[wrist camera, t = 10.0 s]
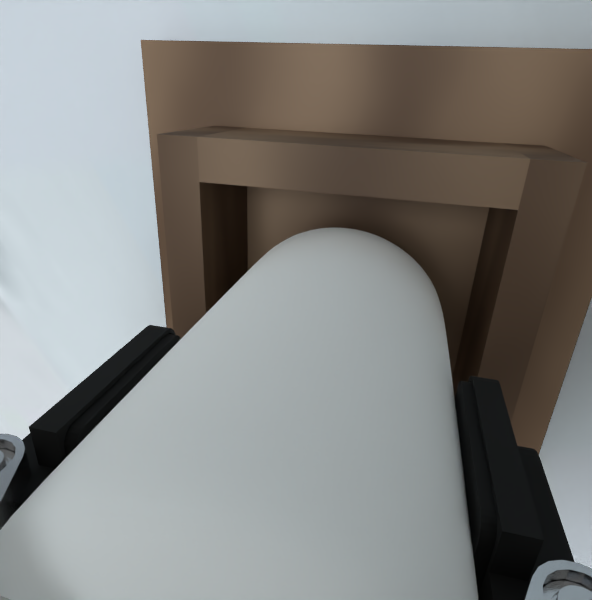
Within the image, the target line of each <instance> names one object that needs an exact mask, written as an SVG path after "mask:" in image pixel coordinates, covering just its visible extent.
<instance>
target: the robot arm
mask: <svg viewBox="0 0 592 600" xmlns="http://www.w3.org/2000/svg"><path fill="white" fill-rule="evenodd" d="M180 340H181V338H180V336H178V335H175V332H174V330H173V329H172V328H166V327H159V326H153V325H149V326H148V327H146V328H145V329H144V330H143V331H141V332H140V333H139V334H138V335H137V336H135V337H134V338H133V339H132V340H131V341H130V342H128V343H127V344H126V345H125V346H124V347H123V348H121V349H120V350H119V351H118V352H117V353H115V354H114V355H113V356H112V357H111V358H110V359H108V360H107V361H106V362H105V363H104V364H102V365H101V366H100V367H99V368H98V369H97V370H95V371H94V372H93V373H92V374H91V375H90V376H88V377H87V378H86V379H85V380H84V381H82V382H81V383H80V384H79V385H78V386H77V387H75V388H74V389H73V390H72V391H71V392H69V393H68V394H67V395H66V396H65V397H64V398H62V399H61V400H60V401H59V402H58V403H57V404H55V405H54V406H53V407H52V408H51V409H49V410H48V411H47V412H46V413H45V414H44V415H42V416H41V417H40V418H39V419H38V420H36V421H35V422H34V423H33V424H32V425H31V426H29V429H30V434H29V435H28V436H26V437H25V438H24V439H23V440H21V439H20V438H18V437H17V436H14V435H10V434H0V530H1V529H2V527H3V526H4V525H5V524H6V522H7V521H8V520H9V519H10V517H11V516H12V515H13V514H14V513H15V512H16V511H17V510H18V509H19V507H20V506H21V505H22V504H23V503H24V502H25V501H26V500H27V499H28V498H29V497H30V495H31V494H32V493H33V492H34V491H35V490H36V489H37V488H38V487H39V486H40V485H41V483H42V482H43V481H44V480H45V479H46V478H47V477H48V476H49V475H50V474H51V473H52V472H53V471H54V470H55V469H56V468H57V467H58V466H59V465H60V464H61V462H62V461H63V460H64V459H65V458H66V457H67V456H68V455H69V454H70V453H71V452H72V451H73V450H74V449H75V448H76V447H77V446H78V445H79V444H80V443H81V442H82V441H83V440H84V438H85V437H86V436H87V435H88V434H89V433H90V432H91V431H92V430H93V429H94V428H95V427H96V426H97V425H98V424H99V423H100V422H101V421H102V420H103V419H104V418H105V417H106V416H107V415H108V414H109V413H110V412H111V410H112V409H113V408H114V407H115V406H116V405H117V404H118V403H119V402H120V401H121V400H122V399H123V398H124V397H125V396H126V395H127V394H128V393H129V392H130V391H131V390H132V389H133V388H134V387H135V386H136V385H137V384H138V383H139V382H140V381H141V380H142V379H143V377H144V376H145V375H146V374H147V373H148V372H149V371H150V370H151V369H152V368H153V367H154V366H155V365H156V364H157V363H158V362H159V361H160V360H161V359H162V358H163V357H164V356H165V355H166V354H167V353H168V352H169V351H170V350H171V349H172V348H173V347H174V346H175V345H176V344H177V343H178V342H179V341H180ZM455 407H456V415H457V423H458V431H459V439H460V448H461V456H462V464H463V473H464V481H465V489H466V498H467V506H468V515H469V523H470V532H471V540H472V549H473V557H474V565H475V574H476V582H477V591H478V600H592V568H589V567H587V566H584V565H582V564H580V563H576V562H574V559H573V556H572V553H571V550H570V547H569V544H568V541H567V538H566V535H565V532H564V529H563V526H562V523H561V520H560V517H559V514H558V511H557V508H556V505H555V502H554V499H553V496H552V493H551V490H550V487H549V484H548V481H547V478H546V475H545V472H544V469H543V466H542V463H541V460H540V457H539V455H538V453H537V451H536V450H534V449H533V448H527V447H522V446H517V443H516V439H515V436H514V432H513V428H512V425H511V421H510V418H509V414H508V411H507V407H506V404H505V400H504V397H503V393H502V389H501V386H500V383H499V381H498V380H494V379H488V378H482V377H476V376H470V378H469V380H468V382H465V381H460V382H459V384H458V388H457V393H456V397H455ZM0 600H10V599H8V598H5V597H2V596H0Z"/></svg>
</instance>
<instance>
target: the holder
mask: <svg viewBox="0 0 592 600" xmlns="http://www.w3.org/2000/svg"><path fill="white" fill-rule="evenodd" d="M141 48H142V59H143V71H144V82H145V93H146V104H147V115H148V126H149V137H150V148H151V159H152V170H153V181H154V192H155V203H156V214H157V225H158V237H159V248H160V259H161V270H162V281H163V292H164V303H165V314H166V325H167V328H172V329H173V330H174V332H175V335H178V336H180V338H182V337H183V336H184V335H185V334H186V333H187V332H188V331H189V330H190V329H191V328H192V327H193V326H194V325H195V324H196V323H197V322H198V321H199V320H200V319H201V318H202V317H203V316H204V315H205V314H206V313H207V312H208V311H209V310H210V309H211V308H212V307H213V306H214V305H215V304H216V303H217V302H218V301H219V300H220V299H221V298H222V297H223V296H224V295H225V294H226V293H227V292H228V291H229V290H230V289H231V288H232V286H233V285H234V284H235V283H236V282H237V281H238V280H239V279H240V278H241V277H242V276H243V275H244V274H245V273H246V272H247V271H248V270H249V269H250V268H251V267H252V266H253V265H254V264H255V263H256V262H258V261H259V260H260V259H261V258H262V257H263V256H264V255H265V254H266V253H267V252H268V251H270V250H271V249H272V248H273V247H275V246H276V245H278V244H279V243H281V242H282V241H284V240H286V239H288V238H290V237H292V236H294V235H297V234H299V233H302V232H306V231H309V230H314V229H320V228H334V227H335V228H350V229H356V230H361V231H364V232H368V233H371V234H374V235H377V236H379V237H381V238H384V239H386V240H388V241H390V242H391V243H393V244H395V245H396V246H398V247H399V248H401V249H402V250H404V251H405V252H406V253H407V254H409V255H410V256H411V257H412V258H413V259H414V260H415V261H416V262H417V263H418V264H419V265H420V266H421V267H422V269H423V270H424V271H425V272H426V274H427V275H428V277H429V278H430V280H431V282H432V283H433V285H434V287H435V290H436V292H437V295H438V298H439V301H440V304H441V308H442V312H443V317H444V323H445V329H446V336H447V343H448V351H449V359H450V367H451V374H452V382H453V390H454V399H455V397H456V393H457V388H458V384H459V382H460V381H465V382H468V380H469V378H470V376H476V377H482V378H488V379H494V380H498V381H499V383H500V386H501V389H502V393H503V397H504V400H505V404H506V407H507V411H508V414H509V418H510V421H511V425H512V428H513V432H514V436H515V439H516V443H517V446H522V447H527V448H533V449H534V450H536V451H537V453H538V455H539V452H540V449H541V446H542V443H543V440H544V437H545V434H546V431H547V428H548V425H549V422H550V419H551V416H552V413H553V410H554V407H555V404H556V401H557V399H558V396H559V393H560V390H561V387H562V384H563V381H564V378H565V375H566V372H567V369H568V366H569V363H570V360H571V357H572V354H573V351H574V348H575V345H576V342H577V339H578V336H579V333H580V330H581V327H582V324H583V321H584V318H585V315H586V312H587V309H588V306H589V304H590V301H591V298H592V49H559V48H509V47H460V46H410V45H361V44H311V43H261V42H212V41H162V40H141Z"/></svg>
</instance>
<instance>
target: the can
mask: <svg viewBox="0 0 592 600" xmlns="http://www.w3.org/2000/svg"><path fill="white" fill-rule="evenodd" d="M0 596H2V597H5V598H8V599H10V600H478V591H477V582H476V574H475V565H474V557H473V549H472V540H471V532H470V523H469V515H468V506H467V498H466V489H465V481H464V473H463V464H462V456H461V448H460V439H459V431H458V423H457V415H456V407H455V399H454V390H453V382H452V374H451V367H450V359H449V351H448V343H447V336H446V329H445V323H444V317H443V312H442V308H441V304H440V301H439V298H438V295H437V292H436V290H435V287H434V285H433V283H432V282H431V280H430V278H429V277H428V275H427V274H426V272H425V271H424V270H423V269H422V267H421V266H420V265H419V264H418V263H417V262H416V261H415V260H414V259H413V258H412V257H411V256H410V255H409V254H407V253H406V252H405V251H404V250H402V249H401V248H399V247H398V246H396V245H395V244H393V243H391V242H390V241H388V240H386V239H384V238H381V237H379V236H377V235H374V234H371V233H368V232H364V231H361V230H356V229H350V228H335V227H334V228H320V229H314V230H309V231H306V232H302V233H299V234H297V235H294V236H292V237H290V238H288V239H286V240H284V241H282V242H281V243H279V244H278V245H276V246H275V247H273V248H272V249H271V250H270V251H268V252H267V253H266V254H265V255H264V256H263V257H262V258H261V259H260V260H259V261H258V262H256V263H255V264H254V265H253V266H252V267H251V268H250V269H249V270H248V271H247V272H246V273H245V274H244V275H243V276H242V277H241V278H240V279H239V280H238V281H237V282H236V283H235V284H234V285H233V286H232V288H231V289H230V290H229V291H228V292H227V293H226V294H225V295H224V296H223V297H222V298H221V299H220V300H219V301H218V302H217V303H216V304H215V305H214V306H213V307H212V308H211V309H210V310H209V311H208V312H207V313H206V314H205V315H204V316H203V317H202V318H201V319H200V320H199V321H198V322H197V323H196V324H195V325H194V326H193V327H192V328H191V329H190V330H189V331H188V332H187V333H186V334H185V335H184V336H183V337H182V338H181V340H180V341H179V342H178V343H177V344H176V345H175V346H174V347H173V348H172V349H171V350H170V351H169V352H168V353H167V354H166V355H165V356H164V357H163V358H162V359H161V360H160V361H159V362H158V363H157V364H156V365H155V366H154V367H153V368H152V369H151V370H150V371H149V372H148V373H147V374H146V375H145V376H144V377H143V379H142V380H141V381H140V382H139V383H138V384H137V385H136V386H135V387H134V388H133V389H132V390H131V391H130V392H129V393H128V394H127V395H126V396H125V397H124V398H123V399H122V400H121V401H120V402H119V403H118V404H117V405H116V406H115V407H114V408H113V409H112V410H111V412H110V413H109V414H108V415H107V416H106V417H105V418H104V419H103V420H102V421H101V422H100V423H99V424H98V425H97V426H96V427H95V428H94V429H93V430H92V431H91V432H90V433H89V434H88V435H87V436H86V437H85V438H84V440H83V441H82V442H81V443H80V444H79V445H78V446H77V447H76V448H75V449H74V450H73V451H72V452H71V453H70V454H69V455H68V456H67V457H66V458H65V459H64V460H63V461H62V462H61V464H60V465H59V466H58V467H57V468H56V469H55V470H54V471H53V472H52V473H51V474H50V475H49V476H48V477H47V478H46V479H45V480H44V481H43V482H42V483H41V485H40V486H39V487H38V488H37V489H36V490H35V491H34V492H33V493H32V494H31V495H30V497H29V498H28V499H27V500H26V501H25V502H24V503H23V504H22V505H21V506H20V507H19V509H18V510H17V511H16V512H15V513H14V514H13V515H12V516H11V517H10V519H9V520H8V521H7V522H6V524H5V525H4V526H3V527H2V529H1V530H0Z"/></svg>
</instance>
